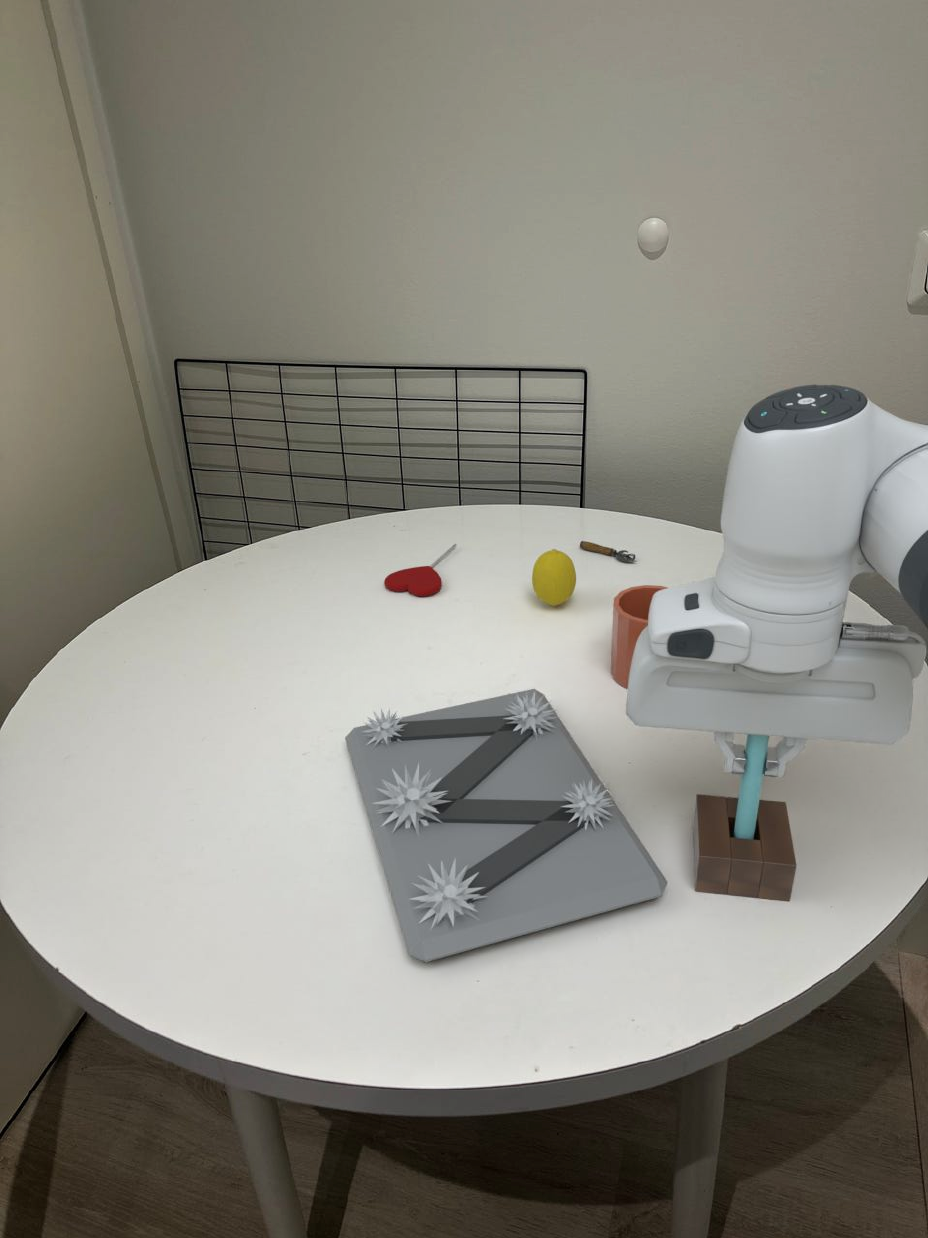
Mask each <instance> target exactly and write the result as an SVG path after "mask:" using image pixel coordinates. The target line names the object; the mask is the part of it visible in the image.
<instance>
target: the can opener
mask: <svg viewBox="0 0 928 1238" xmlns="http://www.w3.org/2000/svg"><path fill="white" fill-rule="evenodd" d="M579 548H580V549H582V550H586V551H588V552H594V553H599V554H600V553H601V554H603V555H607V556H613V557H615V556H616V559H617V560H618V561H621V562H625V563H634V562H635V563H637V560H635V559H636V554H635V553H629V551H628V550H626V549H625V550H624V549H623V550H619V551H617V550H616V549H615V548H612V547H608V546H603V545H601V544H597V543H595V542H590V541H585V540H582V541H580V543H579Z"/></svg>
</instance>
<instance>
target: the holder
mask: <svg viewBox="0 0 928 1238" xmlns="http://www.w3.org/2000/svg"><path fill="white" fill-rule="evenodd" d="M738 799H739V797H733V796H724V795H712V794H699V793H697V794H696V795H695V803H694V805H695V806H694V814H693V823H692V840H693V841H692V842H693V843H692V844H693V845H692V846H693V866H694V867H693V868H694V871H693V872H694V891H695V892H701V893H709V894H717V895H728V896H735V897H736V896H737V897H744V898H745V897H747V898H754V899H757V898H758V899H764V900H772V901H773V900H774V901H784V902H790V901H791V897H792V892H793V887H794V881H795V877H796V871H797V865H798V864H797V860H796V859H797V858H796V854H795V848H794V843H793V837H792V830H791V824H790V819H789V813H788V807H787V806H788V805H787V802H786V801H781V800H779V801H778V800H770V799H769V800H766V799H760V800H759V807H758V813H757V820H756V826H755V833H754V839H743V838H733V835H734V828H735V820H736V813H737V806H738Z"/></svg>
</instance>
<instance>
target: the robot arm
mask: <svg viewBox="0 0 928 1238" xmlns="http://www.w3.org/2000/svg"><path fill="white" fill-rule="evenodd" d="M724 483H725V484H724V491H723V498H722V505H721V512H720V529H721V534H722V540H723V550H722V555H721V557H720V560H719V561H718V563H717V566H716V569H715V572H714V576H712V577H709V578H705V579H702V580H701V579H700V580H697V581H693V582H690V583H685V584H680V585H675V586H671V587H668V588H667V589H663V590H660V591H658V592H656V593H655V594H654V595H653V598H652V601H651V604H650V608H649V615H648V626H647V627H646V628H645V629H644V630H643V631H642V632H641V634H640V636H639V638H638V640H637V643H636V646H635V650H634V654H633V658H632V662H631V667H630V673H629V681H628V689H627V691H626V704H625V714H626V716H627V717H628V719H629V720H630V721H631V723H632V724H633V725H635V726H637V727H645V728H658V729H660V728H661V729H672V730H684V731H685V730H686V731H700V732H713V737H714V742H715V744H716V745H717V747H718V748H719V750H720V751H721V753H722V754H723V768H724V770H723V771H724V773H725V774H731V775H742V774H744V772H745V768H744V767H745V765H746V754H745V748H746V744H736V743H734V740H735V739H734V738H735V734H739V735H747V734H752V735H765V736H769V737H779V738H780V737H781V738H782V739H781V740H780V741H779V742H778V743H777V744H776V746H774V747H773V746H768V748H767V754H766V760H765V767H764V773H763V777H771V778H781V779H784V778H785V774H786V769H787V763H789V762H790V761H792V760H793V759H794V758H796V756H798V754H800V753H801V752H802V751H803V750H804V749H805V748H806V743H807V740H818V741H819V740H821V741H834V742H836V741H837V742H848V743H860V744H861V743H862V744H874V745H888V746H889V745H891V746H892V745H895V744H897V743H899V742H900V741H901V740H903V739H904V738H905V737H906V736H908V734H909V731H910V726H911V721H912V714H913V701H914V681H913V680H915V679H916V678H918V677H919V676H920V674H921V673H922V671H923V669H924V664H925V661H926V658H927V657H926V656H927V653H928V650H927V649H928V648H927V644H926V641H925V640H924V638H923V637H922V636H920V635H919V634H917V633H916V632H913V631H909V630H910V629H909V627H907V626H905V625H899V624H887V625H877V624H872V623H863V622H849V621H848V622H847V621H846V622H845V621H844V617H845V611H846V606H847V602H848V596H849V591H850V585H851V583H852V580H853V579H854V578H855V577H856V576H858V575H860V574H864V573H876V572H877V573H878V574H879V575H880V576H881V577H882V578H884V580H886V581H887V582H888V583H889V585H891V586H892V587H893V588H894V589H895V590H896V591H897V592H898V593H899V594H900V596H901V597H902V599H903V600H904V601H905V603H906V604H907V605H908V607H910V609H911V610H912V611H913V613H914V614H915V615H916V616H917V617H918V619H919V620H920V621H921V623H922V624H923V625H924V626H925V628H926V629H927V630H928V424H927V423H918V422H914V421H909V420H906V419H904V418H900V417H898V416H896V415H894V414H893V413H891V412H889V411H887V410H886V409H883V408H881V407H880V406H878V405H877V404H875V403H873V401H871V400H870V399H869V398H868V396H867V395H866V394H865V393H864V392H862V391H860V390H859V389H856V388H853V387H848V386H845V385H844V386H843V385H839V384H838V385H837V384H807V385H806V384H805V385H800V386H799V385H798V386H793V387H789V388H785V389H783V390H779V391H776V392H774V393H772V394H769V395H768V396H766V397H765V398H763V399H761V400H759V401H758V402H756V403H755V404H754V405H752V407H751V408H750V409H749V410H748V411H747V413H746V414H745V416H743V419H742V421H741V422H740V425H739V427H738V429H737V432H736V435H735V437H734V442H733V445H732V449H731V452H730V457H729V463H728V467H727V472H726V477H725V482H724Z"/></svg>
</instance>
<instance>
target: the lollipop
mask: <svg viewBox="0 0 928 1238" xmlns="http://www.w3.org/2000/svg"><path fill="white" fill-rule="evenodd" d="M456 546H457V544H456V543H454V544H453V545H452V546H451V547H449V548H448V549H447V550H446V551H445V552H444V553H443V554H442V555H440V556H439V557H438V558H437V559H436V560H435V561H434V562H432V564H430V565H424V566H422V565H421V566H414V567H409V568H404V569H400V570H397V571H394V572H392V573H389V574H388V575H387V576H386V577H385V579H384V581H383V585H384V586H385V588H387V589H388V590H389V591H393V592H407V591H408V592H409V593H410V594H412V595H413V596H417V597H429V596H432V595H434V594H437V593H438V592H439V591H440V590H441V588H442V585H443V582H442V578H441V577H440V575H439V573H438V572H437V571H436V569H434V567H435V566H436V565H437V564H438V563H439V562H440V561H441V560H442V559H443V558H444V557H446V556H447V555H448V554H449V553H450V552H451V551H452V550H453V549H455V548H456Z"/></svg>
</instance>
